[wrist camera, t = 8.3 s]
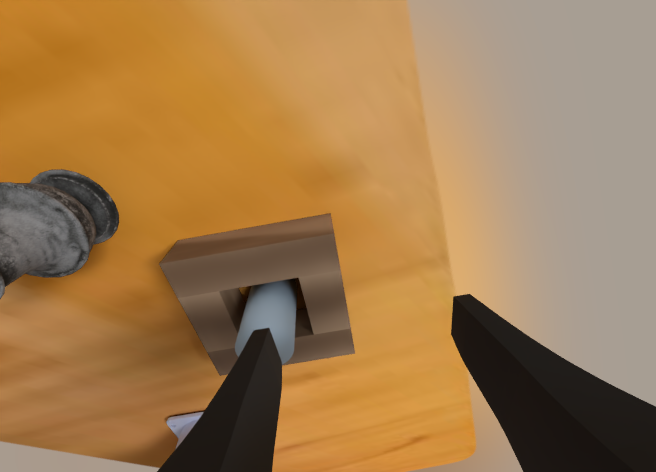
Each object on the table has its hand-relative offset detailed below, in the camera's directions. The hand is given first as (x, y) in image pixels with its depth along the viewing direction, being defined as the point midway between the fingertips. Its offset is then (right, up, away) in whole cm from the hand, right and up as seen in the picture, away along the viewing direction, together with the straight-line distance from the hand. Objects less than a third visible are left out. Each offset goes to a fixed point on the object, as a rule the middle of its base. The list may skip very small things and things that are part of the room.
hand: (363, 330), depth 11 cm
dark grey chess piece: (-18, +6, +8) cm, 20 cm away
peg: (-6, 0, +12) cm, 13 cm away
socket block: (-6, 0, +12) cm, 13 cm away
